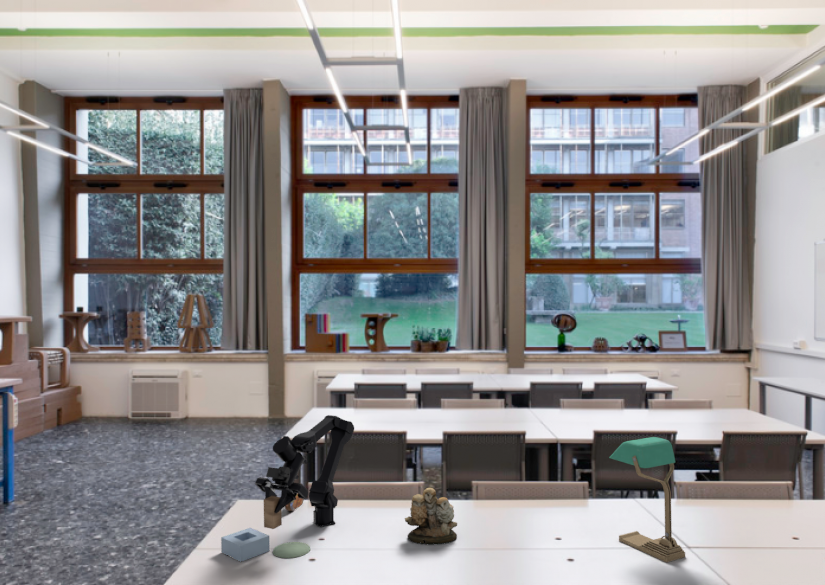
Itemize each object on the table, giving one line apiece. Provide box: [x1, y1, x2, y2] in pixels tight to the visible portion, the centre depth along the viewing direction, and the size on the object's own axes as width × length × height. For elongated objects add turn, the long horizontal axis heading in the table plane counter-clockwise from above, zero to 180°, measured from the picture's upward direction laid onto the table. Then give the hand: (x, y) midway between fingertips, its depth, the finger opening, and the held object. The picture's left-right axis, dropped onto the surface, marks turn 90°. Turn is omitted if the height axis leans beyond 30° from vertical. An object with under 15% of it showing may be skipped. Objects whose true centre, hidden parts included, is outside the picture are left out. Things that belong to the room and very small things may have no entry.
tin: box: [284, 482, 305, 512], centre depth 244 cm, size 15×3×8 cm, turn 168°
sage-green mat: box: [272, 541, 311, 559], centre depth 202 cm, size 12×12×1 cm
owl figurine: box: [404, 487, 458, 546], centre depth 211 cm, size 18×12×17 cm, turn 95°
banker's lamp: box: [609, 436, 686, 563], centre depth 201 cm, size 16×21×35 cm
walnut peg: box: [263, 496, 283, 530], centre depth 201 cm, size 4×4×9 cm
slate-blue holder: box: [220, 527, 270, 563], centre depth 201 cm, size 11×11×5 cm
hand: (269, 511), depth 200 cm, fingers closed on walnut peg, 4 cm apart
